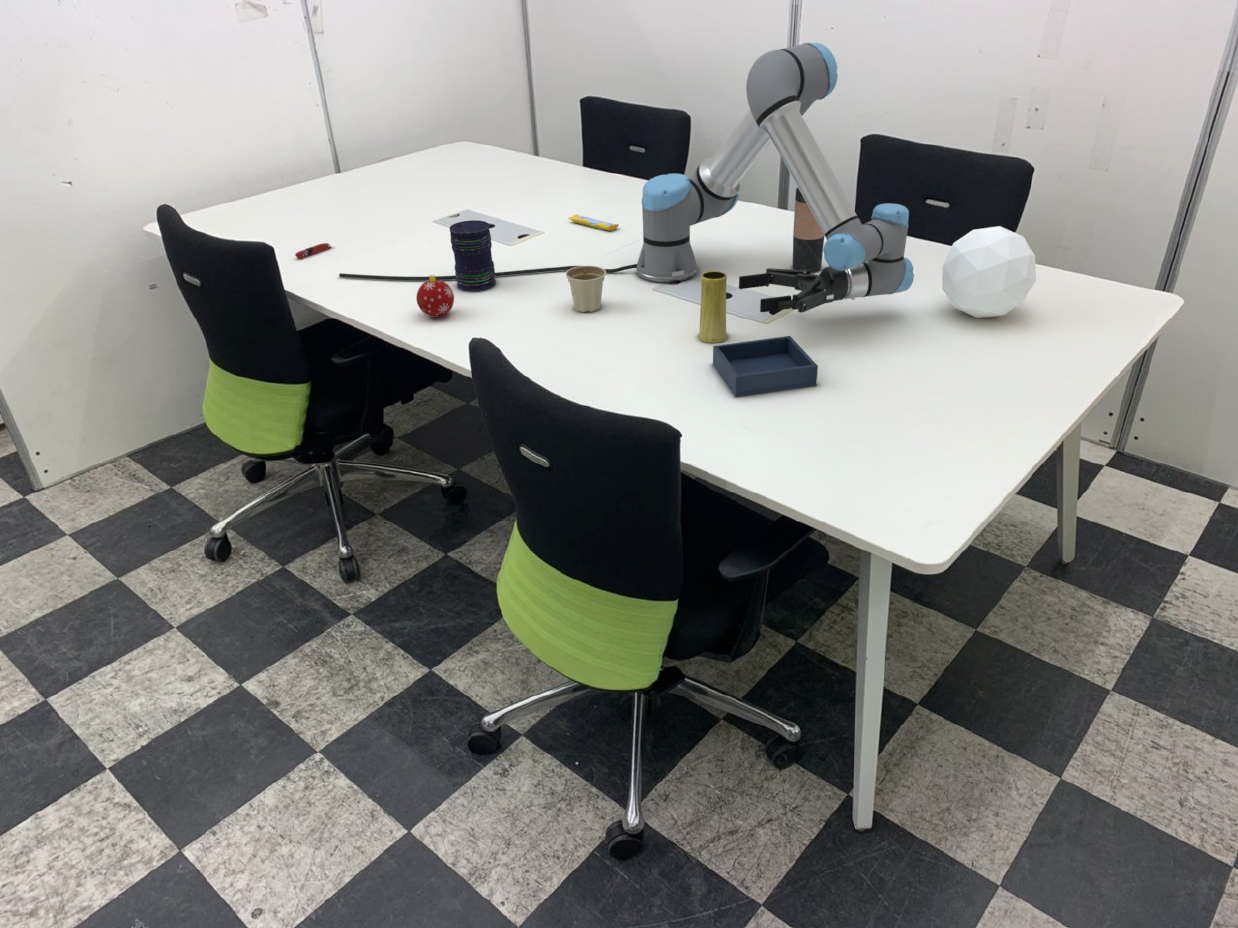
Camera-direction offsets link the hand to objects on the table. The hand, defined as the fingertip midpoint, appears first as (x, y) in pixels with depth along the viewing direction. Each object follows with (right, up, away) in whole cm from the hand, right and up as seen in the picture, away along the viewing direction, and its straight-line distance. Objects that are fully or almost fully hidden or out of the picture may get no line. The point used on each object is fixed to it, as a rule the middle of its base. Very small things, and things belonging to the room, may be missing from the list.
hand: (749, 294), depth 200 cm
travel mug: (+20, +13, +37) cm, 44 cm away
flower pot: (-35, 0, +20) cm, 41 cm away
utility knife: (-113, +22, +60) cm, 130 cm away
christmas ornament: (-71, -2, +20) cm, 73 cm away
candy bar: (-35, +33, +71) cm, 86 cm away
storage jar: (-64, +9, +35) cm, 74 cm away
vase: (-7, -9, +4) cm, 12 cm away
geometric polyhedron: (+53, -3, +10) cm, 54 cm away
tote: (+1, -19, -12) cm, 22 cm away
